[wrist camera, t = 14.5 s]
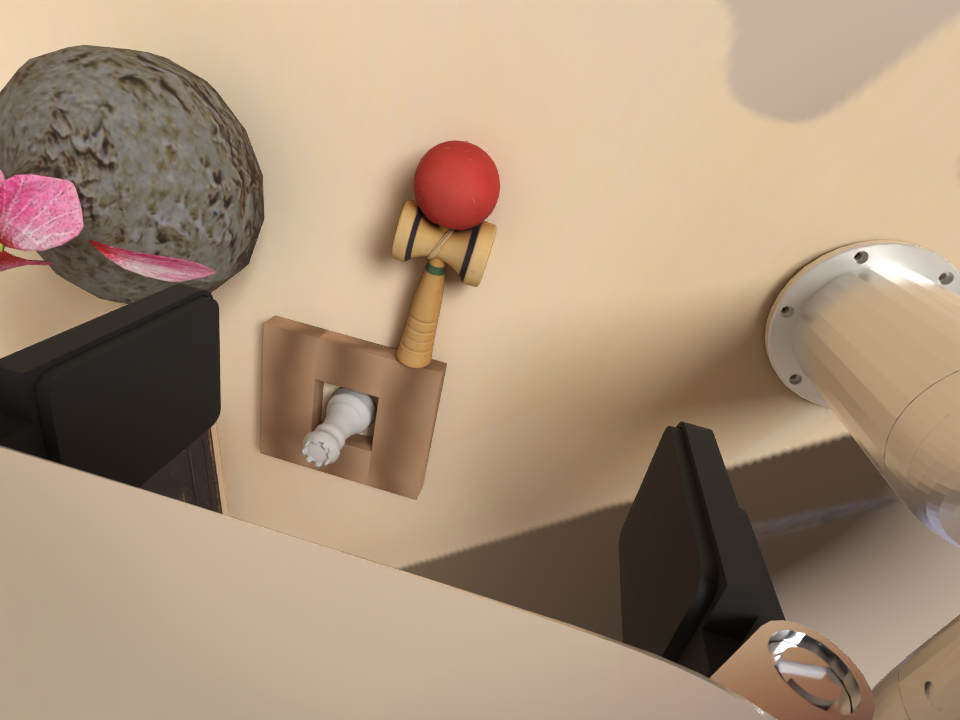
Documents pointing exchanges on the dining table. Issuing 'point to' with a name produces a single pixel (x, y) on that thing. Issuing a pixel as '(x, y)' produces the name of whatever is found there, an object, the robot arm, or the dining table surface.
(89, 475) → the robot arm
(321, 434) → the rook chess piece
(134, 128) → the vase
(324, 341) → the board
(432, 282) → the kendama
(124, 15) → the dining table surface
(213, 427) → the hardcover book
